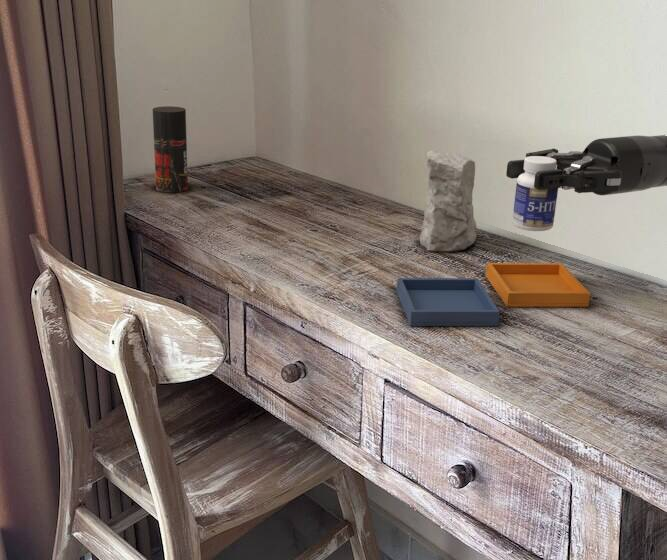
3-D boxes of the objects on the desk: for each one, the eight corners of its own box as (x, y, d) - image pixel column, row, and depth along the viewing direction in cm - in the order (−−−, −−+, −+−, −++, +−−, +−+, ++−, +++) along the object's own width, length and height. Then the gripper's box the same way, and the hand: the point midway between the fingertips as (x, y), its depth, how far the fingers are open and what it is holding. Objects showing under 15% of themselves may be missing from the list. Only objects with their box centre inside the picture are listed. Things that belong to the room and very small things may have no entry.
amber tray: (588, 306, 109) (590, 293, 108) (506, 306, 108) (508, 292, 107) (560, 275, 119) (562, 263, 118) (485, 275, 118) (486, 262, 117)
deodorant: (156, 184, 157) (153, 106, 151) (187, 184, 158) (185, 106, 152) (155, 192, 152) (151, 112, 146) (187, 192, 153) (185, 112, 147)
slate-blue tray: (498, 326, 102) (500, 311, 101) (410, 326, 101) (411, 311, 100) (476, 291, 112) (478, 278, 112) (396, 291, 111) (397, 277, 111)
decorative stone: (477, 255, 126) (487, 163, 121) (418, 251, 127) (425, 159, 122) (475, 235, 135) (484, 148, 130) (420, 230, 136) (427, 144, 131)
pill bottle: (525, 233, 104) (533, 165, 100) (504, 221, 108) (511, 155, 105) (561, 230, 105) (570, 162, 102) (539, 218, 110) (546, 153, 107)
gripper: (592, 126, 114) (492, 134, 108) (670, 148, 102) (562, 159, 96) (585, 178, 117) (486, 189, 111) (660, 205, 105) (554, 220, 98)
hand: (522, 175), depth 103 cm, fingers closed on pill bottle, 5 cm apart
